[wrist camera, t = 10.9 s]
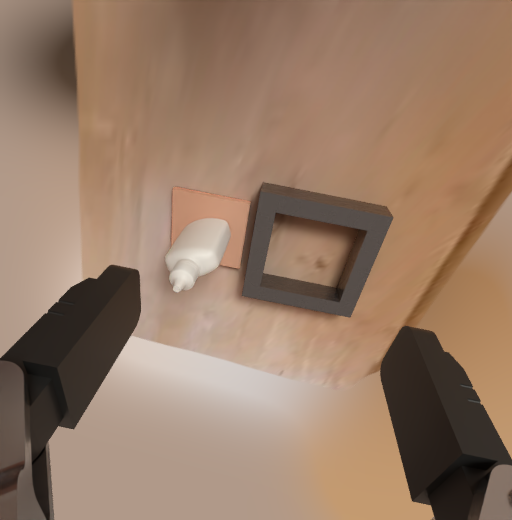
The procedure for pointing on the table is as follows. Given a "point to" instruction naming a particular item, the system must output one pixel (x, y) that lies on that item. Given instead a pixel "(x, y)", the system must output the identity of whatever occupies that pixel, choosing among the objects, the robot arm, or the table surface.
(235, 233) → the terracotta tile
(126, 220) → the table surface
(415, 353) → the robot arm
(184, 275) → the eye dropper bottle
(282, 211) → the socket plate
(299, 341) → the table surface
